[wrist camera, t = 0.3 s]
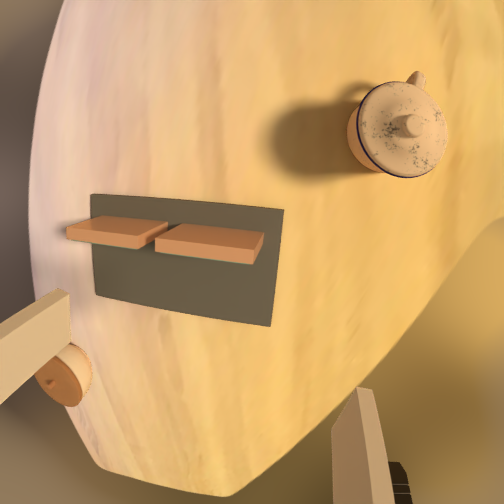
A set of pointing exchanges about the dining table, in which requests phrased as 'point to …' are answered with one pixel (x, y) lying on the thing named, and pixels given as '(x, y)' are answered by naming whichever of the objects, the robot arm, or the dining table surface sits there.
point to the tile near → (211, 243)
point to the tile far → (117, 231)
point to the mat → (190, 261)
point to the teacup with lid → (398, 129)
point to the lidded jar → (66, 376)
